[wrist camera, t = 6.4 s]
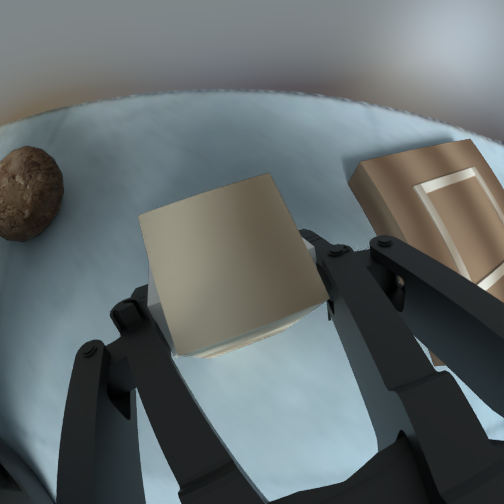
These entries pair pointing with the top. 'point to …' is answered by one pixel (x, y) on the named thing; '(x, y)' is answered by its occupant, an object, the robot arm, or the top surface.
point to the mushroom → (28, 193)
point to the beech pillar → (230, 267)
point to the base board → (439, 208)
